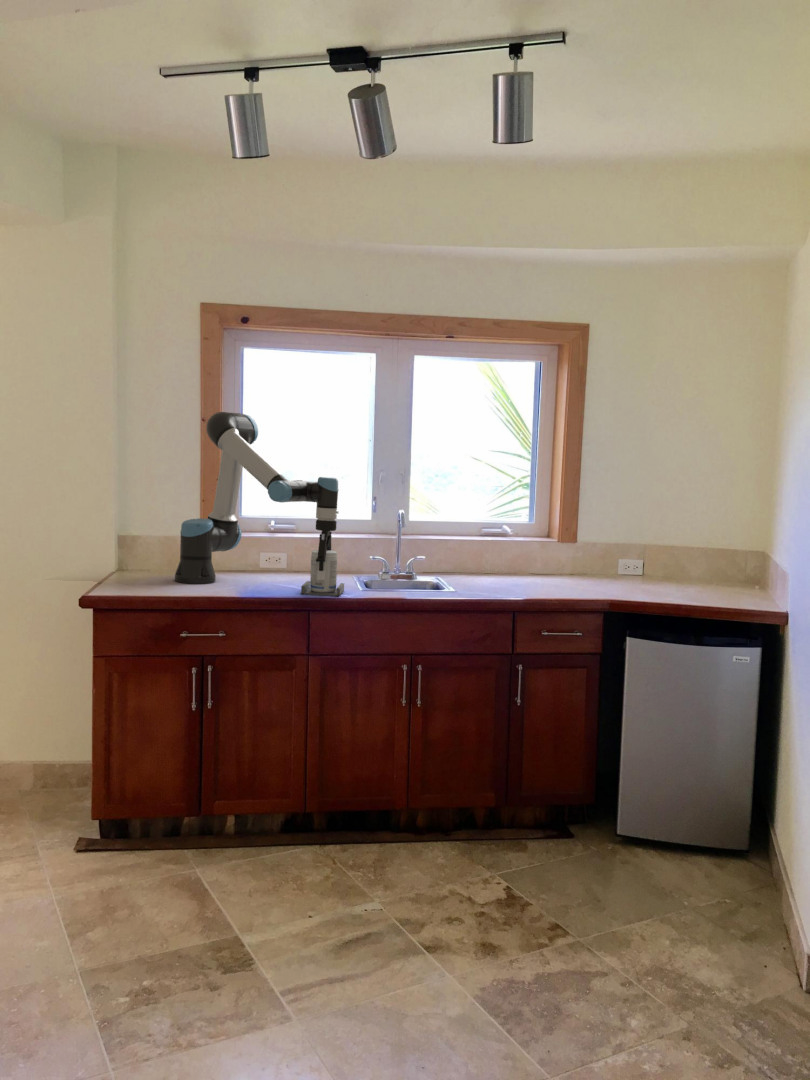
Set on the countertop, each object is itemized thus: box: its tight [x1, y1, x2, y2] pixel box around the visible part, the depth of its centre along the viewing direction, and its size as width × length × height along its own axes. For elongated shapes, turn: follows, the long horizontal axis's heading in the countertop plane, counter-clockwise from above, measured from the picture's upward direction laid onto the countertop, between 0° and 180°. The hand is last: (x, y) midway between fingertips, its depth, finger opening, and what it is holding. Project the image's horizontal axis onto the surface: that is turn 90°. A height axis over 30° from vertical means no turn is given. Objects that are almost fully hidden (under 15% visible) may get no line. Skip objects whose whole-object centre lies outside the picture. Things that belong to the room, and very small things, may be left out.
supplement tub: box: [309, 550, 338, 593], centre depth 330 cm, size 10×10×15 cm
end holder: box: [300, 580, 345, 598], centre depth 330 cm, size 14×13×3 cm
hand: (323, 577), depth 330 cm, fingers open, 13 cm apart
